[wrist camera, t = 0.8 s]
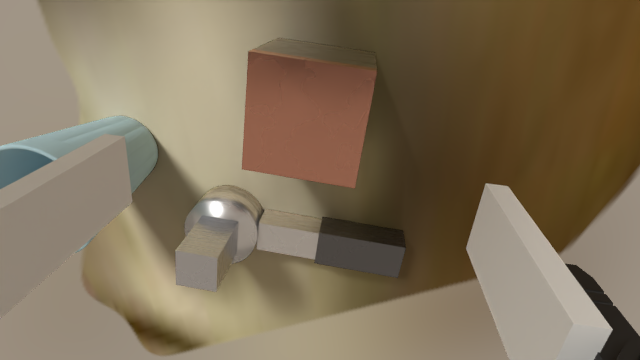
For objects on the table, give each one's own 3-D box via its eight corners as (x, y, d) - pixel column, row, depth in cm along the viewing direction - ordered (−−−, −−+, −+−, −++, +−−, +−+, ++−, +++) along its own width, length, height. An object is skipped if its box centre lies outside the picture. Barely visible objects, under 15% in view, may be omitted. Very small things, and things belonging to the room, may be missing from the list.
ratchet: (407, 215, 34) (417, 275, 26) (392, 272, 36) (398, 341, 29) (198, 179, 34) (153, 228, 27) (198, 238, 37) (156, 296, 30)
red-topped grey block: (270, 130, 32) (241, 169, 25) (278, 37, 29) (248, 51, 22) (358, 144, 32) (354, 188, 24) (374, 52, 29) (377, 71, 21)
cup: (66, 111, 33) (-53, 157, 24) (149, 92, 32) (58, 134, 22) (106, 193, 36) (14, 262, 27) (183, 179, 35) (115, 247, 25)
